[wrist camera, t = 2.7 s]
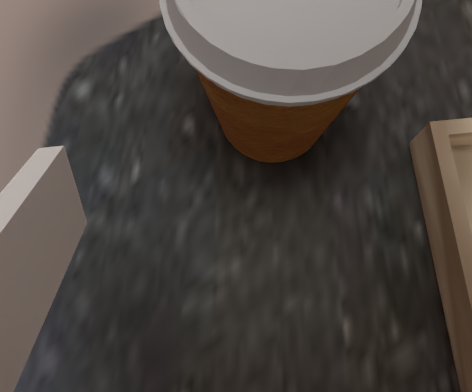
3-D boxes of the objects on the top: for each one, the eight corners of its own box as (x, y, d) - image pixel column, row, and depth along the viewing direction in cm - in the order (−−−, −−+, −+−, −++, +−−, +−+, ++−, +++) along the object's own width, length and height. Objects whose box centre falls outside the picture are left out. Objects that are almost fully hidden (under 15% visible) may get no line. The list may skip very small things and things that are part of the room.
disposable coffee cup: (171, 73, 27) (116, -106, 16) (314, 24, 28) (363, -182, 16) (225, 213, 25) (207, 126, 13) (379, 156, 25) (490, 26, 14)
